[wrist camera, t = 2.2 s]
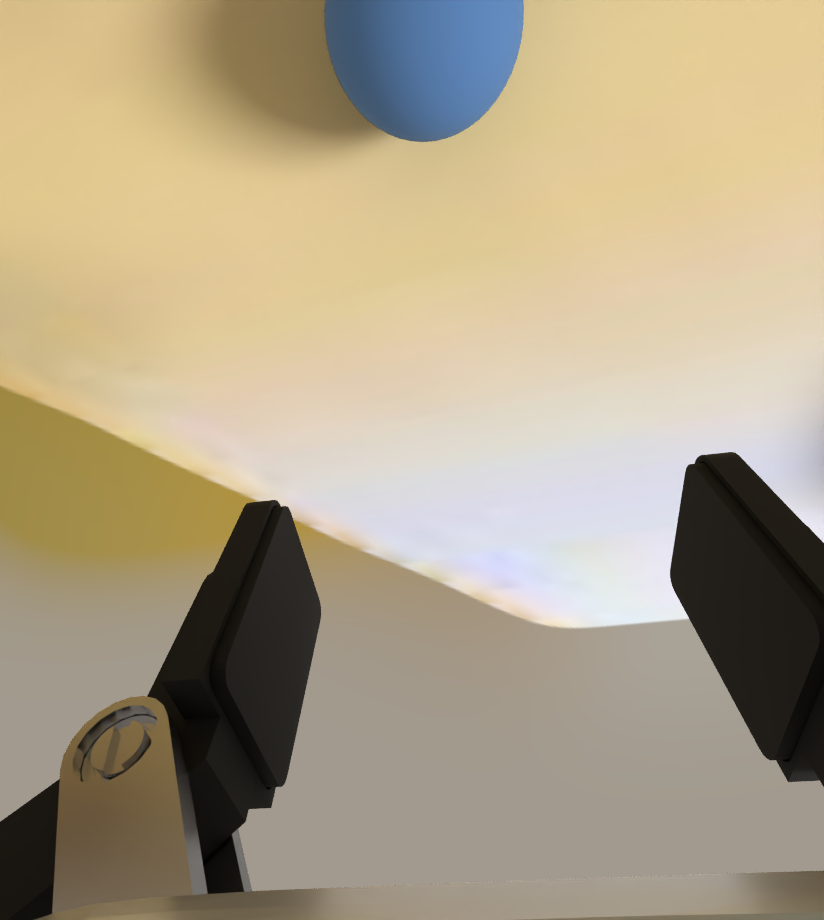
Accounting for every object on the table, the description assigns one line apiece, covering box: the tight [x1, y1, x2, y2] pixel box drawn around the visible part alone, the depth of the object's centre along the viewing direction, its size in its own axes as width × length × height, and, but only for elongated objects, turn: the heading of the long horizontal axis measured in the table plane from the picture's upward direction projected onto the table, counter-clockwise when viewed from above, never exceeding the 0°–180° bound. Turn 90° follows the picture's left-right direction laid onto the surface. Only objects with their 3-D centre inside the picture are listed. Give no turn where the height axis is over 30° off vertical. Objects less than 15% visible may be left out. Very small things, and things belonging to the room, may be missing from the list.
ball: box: [324, 0, 524, 142], centre depth 16 cm, size 6×6×6 cm
